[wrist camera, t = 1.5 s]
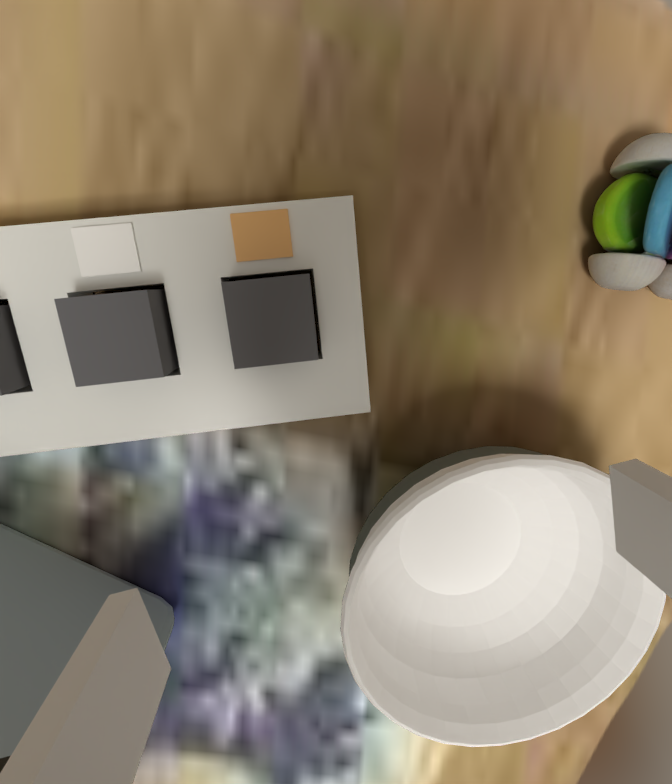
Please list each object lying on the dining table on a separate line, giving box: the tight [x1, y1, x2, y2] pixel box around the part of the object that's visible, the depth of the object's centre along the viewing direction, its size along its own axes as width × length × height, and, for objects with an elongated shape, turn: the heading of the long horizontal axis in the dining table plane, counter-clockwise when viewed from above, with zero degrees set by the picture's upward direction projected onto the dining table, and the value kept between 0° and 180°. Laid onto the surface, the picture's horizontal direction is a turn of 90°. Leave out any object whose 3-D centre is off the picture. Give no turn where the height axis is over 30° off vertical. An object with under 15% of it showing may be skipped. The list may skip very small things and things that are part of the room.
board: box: [0, 195, 371, 457], centre depth 25 cm, size 26×12×3 cm, turn 96°
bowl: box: [340, 446, 666, 747], centre depth 28 cm, size 19×19×8 cm
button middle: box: [54, 289, 179, 387], centre depth 23 cm, size 4×4×3 cm
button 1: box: [221, 274, 319, 369], centre depth 24 cm, size 4×4×3 cm
